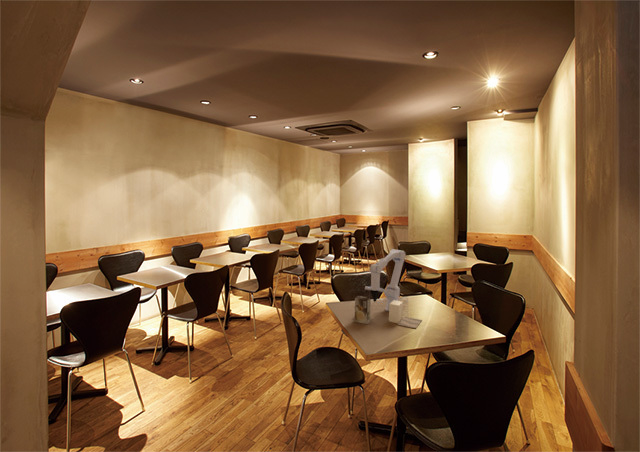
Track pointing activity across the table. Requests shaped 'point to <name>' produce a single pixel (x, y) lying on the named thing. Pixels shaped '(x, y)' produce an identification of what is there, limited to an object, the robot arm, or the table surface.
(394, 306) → the carton
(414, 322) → the board
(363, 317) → the coffee box
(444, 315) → the table surface
